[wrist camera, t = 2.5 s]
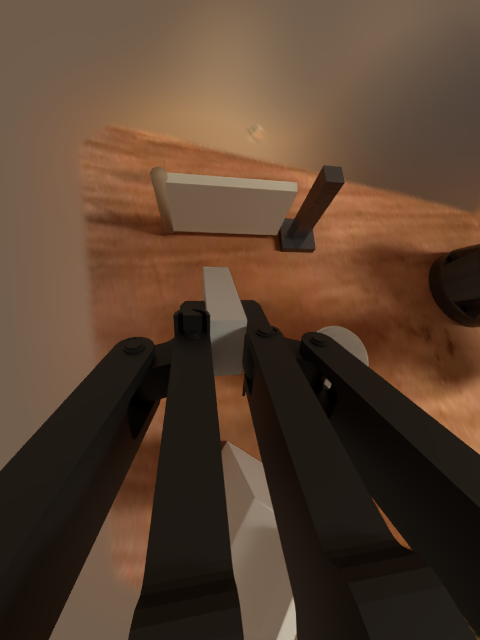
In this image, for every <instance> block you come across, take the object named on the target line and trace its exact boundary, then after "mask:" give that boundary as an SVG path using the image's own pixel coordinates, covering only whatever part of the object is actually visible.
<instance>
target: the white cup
mask: <svg viewBox="0 0 480 640" xmlns="http://www.w3.org/2000/svg"><path fill="white" fill-rule="evenodd" d="M317 332H320V333H323V334H325V335H328V336H329V337H331V338H333V339H334V340H335V341H336V342H338V343H339V344H340V345H341V346H343V347H344V348H345V349H346V350H348V351H349V352H350V353H351V354H353V355H354V356H355V357H357V358H358V359H359V360H360V361H362V362H363V363H364V364H365V365H367V366H368V365H369V362H368V355H367V351H366V349H365V346H364V345H363V343H362V341H361V340H360V339H359V338H358V337H357V336H356V335H355V334H354V333H353V332H351V331H350V330H348V329H346V328H343V327H340V326H328V327H324V328H322V329H320V330H318V331H317ZM324 384H325V385H326V386H327V387H329V388H330V387H331V383H330V382H329V381H328V380H327V379H326V380H325V383H324Z"/></svg>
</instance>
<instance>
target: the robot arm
mask: <svg viewBox="0 0 480 640" xmlns="http://www.w3.org/2000/svg"><path fill="white" fill-rule="evenodd" d="M430 287H431V291H432V294H433V296H434V298H435V300H436V302H437V303H438V305H439V306H440V308H441V309H442V310H443V311H444V312H445V313H446V314H447V315H448V316H449V317H451V318H452V319H453V320H455V321H456V322H458V323H460V324H463V325H465V326H469V327H480V244H477V245H473V246H468V247H464V248H460V249H456V250H453V251H451V252H449V253H447V254H445V255H443V256H442V257H440V258H438V259H437V260H436V261H435V262H434V264H433V266H432V268H431V271H430ZM173 316H174V331H175V337H174V338H173V339H172V340H170V341H168V342H165V343H162V344H158V345H154V343H153V341H151V340H150V339H148V338H144V337H132V338H128V339H125V340H123V341H120V342H119V343H118V344H116V345H115V346H114V347H113V348H112V349H111V351H110V352H109V353H108V354H107V355H106V356H105V357H104V358H103V359H102V360H101V362H100V363H99V364H98V365H97V366H96V367H95V368H94V369H93V370H92V371H91V372H90V374H89V375H88V376H87V377H86V378H85V379H84V380H83V381H82V382H81V383H80V385H79V386H78V387H77V388H76V389H75V390H74V391H73V392H72V393H71V394H70V395H69V397H68V398H67V399H66V400H65V401H64V402H63V403H62V404H61V405H60V407H59V408H58V409H57V410H56V411H55V412H54V413H53V414H52V415H51V416H50V417H49V419H47V421H46V422H45V423H44V424H43V425H42V426H41V427H40V429H38V430H37V432H36V433H35V434H34V435H33V436H32V437H31V438H30V439H29V440H28V441H27V442H26V444H25V445H24V446H23V447H22V448H21V449H20V450H19V451H18V452H17V454H16V455H15V456H14V457H13V458H12V459H11V460H10V461H9V462H8V463H7V464H6V465H5V467H4V468H3V469H2V470H1V471H0V640H49V638H50V635H51V633H52V631H53V629H54V627H55V625H56V623H57V621H58V618H59V616H60V614H61V612H62V610H63V608H64V606H65V603H66V601H67V599H68V597H69V595H70V593H71V591H72V589H73V587H74V584H75V582H76V580H77V578H78V576H79V574H80V572H81V570H82V568H83V565H84V563H85V561H86V559H87V557H88V555H89V553H90V551H91V548H92V546H93V544H94V542H95V540H96V537H97V536H98V533H99V531H100V529H101V527H102V525H103V523H104V521H105V519H106V517H107V514H108V512H109V510H110V508H111V506H112V504H113V502H114V500H115V497H116V495H117V493H118V491H119V489H120V487H121V485H122V483H123V480H124V478H125V476H126V474H127V472H128V470H129V468H130V466H131V463H132V461H133V459H134V457H135V455H136V453H137V451H138V449H139V446H140V444H141V442H142V440H143V438H144V436H145V434H146V432H147V430H148V427H149V425H150V423H151V421H152V419H153V417H154V415H155V413H156V410H157V408H158V406H159V404H160V399H162V398H165V397H167V399H166V407H165V415H164V423H163V431H162V439H161V446H160V454H159V462H158V470H157V478H156V485H155V493H154V501H153V509H152V517H151V525H150V532H149V540H148V548H147V556H146V564H145V572H144V579H143V585H142V590H141V595H140V598H139V600H138V603H137V605H136V608H135V610H134V615H133V619H132V624H131V628H130V633H129V639H128V640H244V634H243V625H242V617H241V609H240V602H239V596H238V590H237V586H236V582H235V578H234V572H233V565H232V555H231V545H230V535H229V524H228V514H227V504H226V494H225V483H224V473H223V463H222V452H221V442H220V432H219V421H218V411H217V401H216V390H215V380H214V376H220V375H239V374H242V369H243V368H244V372H245V374H244V384H243V394H242V396H245V392H246V394H247V399H248V403H249V407H250V412H251V416H252V420H253V425H254V429H255V433H256V438H257V442H258V446H259V451H260V455H261V459H262V464H263V468H264V472H265V477H266V481H267V485H268V490H269V494H270V498H271V503H272V507H273V511H274V516H275V520H276V524H277V529H278V533H279V537H280V542H281V546H282V550H283V555H284V559H285V563H286V568H287V572H288V576H289V581H290V585H291V589H292V594H293V599H294V604H295V611H296V631H297V639H298V640H477V639H476V637H475V635H474V634H473V632H472V630H471V629H470V627H469V625H468V624H467V622H466V620H467V621H468V623H469V624H470V625H471V626H472V628H473V629H474V630H475V632H476V633H477V634H478V636H479V637H480V455H479V454H478V453H477V452H476V451H474V450H473V449H472V448H470V447H469V446H468V445H467V444H465V443H464V442H463V441H462V440H460V439H459V438H458V437H457V436H455V435H454V434H453V433H451V432H450V431H449V430H448V429H446V428H445V427H444V426H443V425H441V424H440V423H439V422H438V421H436V420H435V419H434V418H433V417H431V416H430V415H429V414H427V413H426V412H425V411H424V410H422V409H421V408H420V407H419V406H417V405H416V404H415V403H414V402H412V401H411V400H410V399H408V398H407V397H406V396H405V395H403V394H402V393H401V392H400V391H398V390H397V389H396V388H395V387H393V386H392V385H391V384H389V383H388V382H387V381H386V380H384V379H383V378H382V377H381V376H379V375H378V374H377V373H376V372H374V371H373V370H372V369H370V368H369V367H368V366H367V365H365V364H364V363H363V362H362V361H360V360H359V359H358V358H357V357H355V356H354V355H353V354H351V353H350V352H349V351H348V350H346V349H345V348H344V347H343V346H341V345H340V344H339V343H338V342H336V341H335V340H334V339H333V338H331V337H329V336H328V335H325V334H323V333H320V332H308V333H305V334H304V335H303V336H302V338H301V341H298V340H292V339H287V338H284V337H283V335H282V333H281V332H280V330H279V329H277V328H276V327H274V326H270V324H269V322H268V320H267V318H266V316H265V315H264V312H263V311H262V308H261V306H260V304H258V303H257V302H255V301H254V300H240V299H239V296H238V293H237V290H236V288H235V285H234V282H233V279H232V277H231V274H230V271H229V268H228V267H203V301H185V302H184V303H183V304H182V305H181V306H180V310H178V311H177V312H175V314H174V315H173ZM326 379H327V380H328V381H329V382H330V383H331V387H330V388H329V387H327V386H326V385H325V384H324V383H325V380H326ZM370 495H371V496H370ZM372 498H373V499H374V501H375V502H376V503H377V504H378V506H379V507H380V508H381V510H382V511H383V512H384V514H385V515H386V516H387V517H388V519H389V520H390V521H391V523H392V524H393V525H394V527H395V528H396V529H397V530H398V532H399V533H400V534H401V536H402V537H403V538H404V540H405V541H406V542H407V543H408V545H409V546H410V547H411V549H412V550H413V551H414V552H413V551H411V550H409V549H407V548H405V547H403V546H401V545H400V544H399V542H398V541H397V540H396V539H395V538H394V536H393V535H392V533H391V532H390V530H389V529H388V527H387V525H386V523H385V521H384V519H383V518H382V516H381V514H380V512H379V510H378V508H377V507H376V505H375V503H374V501H373V499H372ZM462 615H463V616H464V617H465V619H466V620H465V619H464V617H463V616H462Z"/></svg>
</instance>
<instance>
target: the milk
mask: <svg viewBox="0 0 480 640" xmlns="http://www.w3.org/2000/svg"><path fill="white" fill-rule="evenodd" d="M221 452H222V463H223V473H224V483H225V494H226V504H227V514H228V524H229V535H230V545H231V555H232V565H233V572H234V578H235V582H236V586H237V590H238V596H239V602H240V609H241V617H242V625H243V634H244V640H294V638H295V635H296V632H297V631H296V611H295V604H294V599H293V594H292V589H291V585H290V581H289V576H288V572H287V568H286V563H285V559H284V555H283V550H282V546H281V542H280V537H279V533H278V529H277V524H276V520H275V516H274V511H273V507H272V503H271V498H270V494H269V490H268V485H267V481H266V477H265V472H264V468H263V464H262V463H261V462H260V461H258V460H257V459H255V458H253V457H252V456H250V455H249V454H247V453H245V452H244V451H242V450H241V449H239V448H237V447H236V446H234V445H233V444H231V443H229V442H228V441H227V442H226V444H225V446H224V448H223V449H222V451H221Z"/></svg>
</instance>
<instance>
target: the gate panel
mask: <svg viewBox="0 0 480 640" xmlns="http://www.w3.org/2000/svg"><path fill="white" fill-rule="evenodd" d="M150 175H151V179H152V183H153V187H154V191H155V195H156V200H157V204H158V208H159V212H160V216H161V220H162V225H163V229H164V231H165V232H166V233H167V234H173V233H174V232H175V231H184V232H209V233H233V234H258V235H277V233H278V231H279V229H280V227H281V225H282V223H283V221H284V219H285V217H286V215H287V213H288V211H289V209H290V207H291V205H292V203H293V201H294V199H295V197H296V195H297V192H298V188H297V182H284V181H271V180H258V179H245V178H231V177H218V176H205V175H192V174H179V173H167V171H166V170H165V169H164V168H162V167H155V168H153V169H152V170H151V172H150Z"/></svg>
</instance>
